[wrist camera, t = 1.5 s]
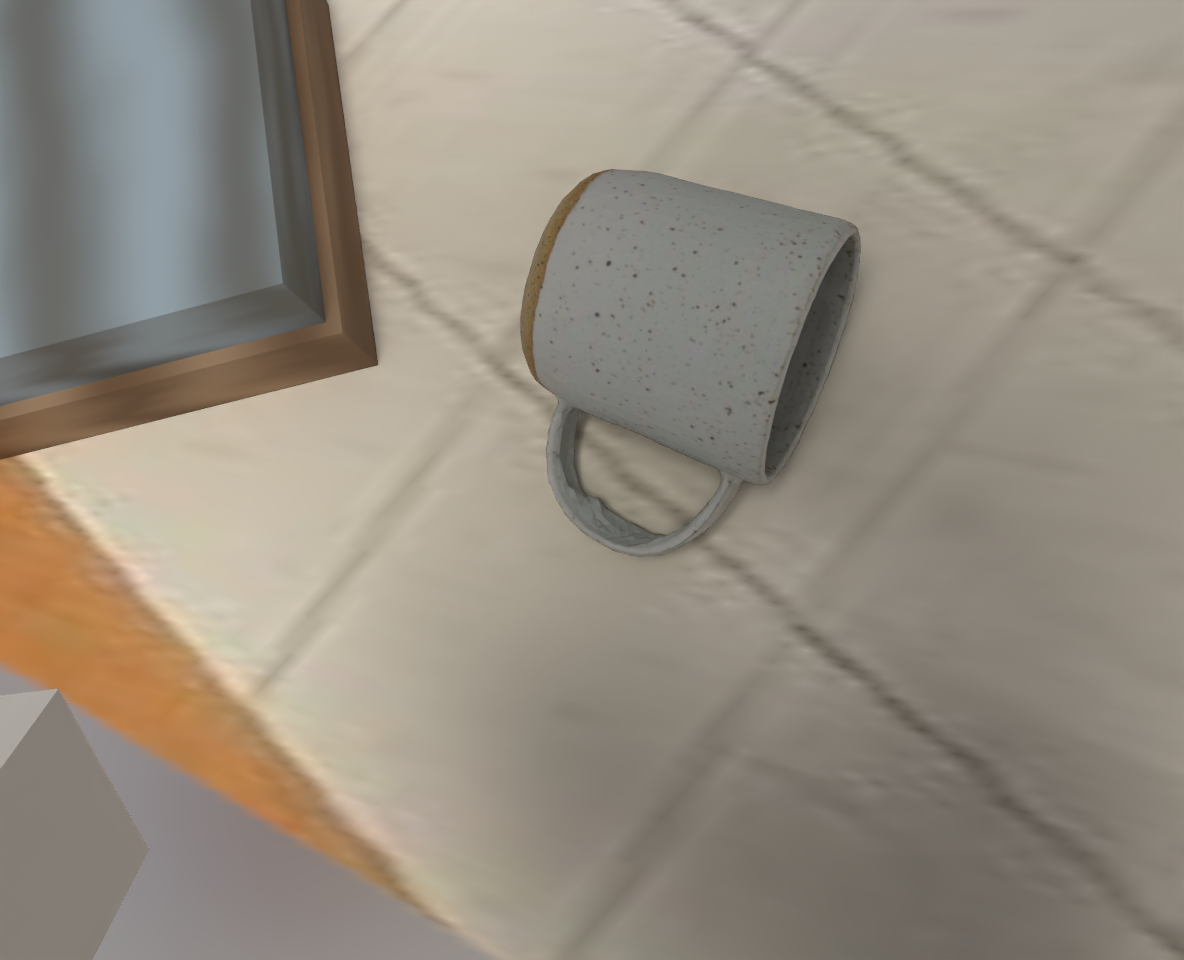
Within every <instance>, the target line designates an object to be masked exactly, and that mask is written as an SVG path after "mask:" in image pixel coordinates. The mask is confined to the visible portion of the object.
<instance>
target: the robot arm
mask: <svg viewBox="0 0 1184 960" xmlns="http://www.w3.org/2000/svg"><path fill="white" fill-rule="evenodd" d="M148 851H149V848H148V846H147V844H146V842H145V841H144V839H143V837H142V835H141V834H140V832H139V830H138V828H137V826H136V825H135V823H134V821H133V820H132V818H131V816H130V814H129V812H128V811H127V809H126V807H125V806H124V804H123V802H122V800H121V798H120V797H119V795H118V793H117V791H116V790H115V788H114V786H113V784H112V782H111V781H110V779H109V777H108V775H107V774H106V772H105V770H104V768H103V767H102V765H101V763H100V762H99V760H98V758H97V756H96V755H95V753H94V751H93V749H92V747H91V746H90V744H89V742H88V740H87V739H86V737H85V735H84V733H83V732H82V730H81V728H80V726H79V724H78V723H77V721H76V719H75V718H74V716H73V714H72V712H71V710H70V709H69V707H68V705H67V703H66V702H65V700H64V698H63V696H62V695H61V693H60V691H59V689H53V690H44V691H36V692H28V693H19V694H11V695H2V696H0V960H92V959H93V957H94V956H95V953H96V952H97V950H98V948H99V946H100V944H101V942H102V940H103V938H104V936H105V934H106V932H107V930H108V928H109V926H110V924H111V922H112V921H113V919H114V917H115V915H116V913H117V911H118V909H119V907H120V905H121V903H122V901H123V899H124V897H125V895H126V894H127V891H128V890H129V888H130V886H131V884H132V882H133V880H134V878H135V876H136V874H137V872H138V870H139V868H140V866H141V864H142V863H143V860H144V859H145V856H146V855H147V853H148Z"/></svg>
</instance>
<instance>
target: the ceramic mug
mask: <svg viewBox="0 0 1184 960" xmlns="http://www.w3.org/2000/svg"><path fill="white" fill-rule="evenodd" d="M860 252H861V246H860V236H859V232H858V228H857V227H856V226H855V225H854V224H852V223H850V222H847V221H845V220H842V219H840V218H835V217H831V216H826V215H822V214H818V213H814V212H809V211H804V210H800V209H795V208H792V207H789V206H785V205H781V204H778V203H773V202H768V201H765V200H761V199H757V198H752V197H748V196H745V195H741V194H737V193H733V192H728V191H724V190H720V189H716V188H711V187H707V186H704V185H700V184H696V183H692V182H688V181H685V180H681V179H677V178H674V177H670V176H666V175H662V174H658V173H652V172H647V171H632V170H616V169H611V170H605V171H601V172H598V173H594V174H592V175H591V176H589V177H587V178H586V179H584V180H583V181H581V182H580V183H579V184H578V185H577V186H576V187H575V188H574V189H573V190H572V191H571V192H570V193H569V194H568V195H567V196H566V197H565V198H564V199H563V200H562V201H561V203H560V204H559V206H558V207H557V209H556V211H555V212H554V214H553V215H552V217H551V218H550V220H549V222H548V224H547V226H546V228H545V230H544V232H543V235H542V237H541V239H540V242H539V244H538V247H537V249H536V251H535V254H534V258H533V261H532V265H531V268H530V272H529V275H528V278H527V282H526V285H525V290H524V296H523V302H522V310H521V318H520V324H521V341H522V350H523V353H524V355H525V358H526V361H527V364H528V366H529V369H530V371H531V374H532V375H533V377H534V378H535V380H536V381H537V382H538V383H539V384H541V385H542V386H543V387H544V388H546V389H547V390H549V391H550V392H552V393H553V394H555V395H556V396H557V398H558V406H557V408H556V410H555V412H554V414H553V418H552V423H551V425H550V428H549V432H548V442H547V448H546V455H547V473H548V478H549V482H550V485H551V487H552V490H553V492H554V495H555V497H556V499H557V501H558V503H559V504H560V506H561V508H562V509H563V511H564V513H565V515H566V516H567V517H568V518H569V519H570V520H571V521H572V522H573V523H574V524H575V525H576V526H577V527H578V528H579V529H580V530H581V531H582V532H583V533H584V534H586V535H587V536H589V537H590V538H592V539H593V540H595V541H597V542H599V543H601V544H603V545H604V546H606V547H608V548H610V549H612V550H614V551H617V552H621V553H625V554H628V555H632V556H637V557H642V556H650V555H661V554H664V553H666V552H669V551H671V550H674V549H677V548H679V547H681V546H683V545H685V544H687V543H688V542H690V541H691V540H693V539H695V538H696V537H697V536H699V535H700V534H702V533H703V532H704V531H705V530H707V529H708V528H709V527H710V526H711V525H713V524H714V522H715V521H716V520H717V519H718V518H719V517H720V515H721V514H722V513H723V512H724V511H725V509H726V508H727V506H728V505H729V503H730V502H731V501H732V499H733V498H734V496H735V495H736V494H737V492H738V490H739V488H740V486H741V484H742V482H743V480H744V481H747V482H750V483H752V484H755V485H766V484H768V483H770V482H771V481H772V480H773V479H774V478H775V477H776V476H777V474H778V473H779V472H780V470H781V469H782V468H783V467H784V465H785V463H786V461H787V460H788V459H789V457H790V456H791V454H792V452H793V450H794V449H795V447H796V445H797V444H798V442H799V439H800V437H801V434H802V432H803V429H804V427H805V425H806V423H807V421H808V419H809V418H810V416H811V414H812V412H813V410H814V408H815V405H816V403H817V400H818V398H819V395H820V393H821V390H822V388H823V385H824V382H825V380H826V378H827V376H828V374H829V371H830V367H831V364H832V362H833V360H834V357H835V354H836V350H837V347H838V344H839V341H840V338H841V335H842V333H843V330H844V327H845V323H846V320H847V316H848V312H849V309H850V306H851V303H852V300H853V296H854V288H855V283H856V280H857V277H858V266H859V263H860ZM581 410H582V411H584V412H586V413H588V414H591V415H593V416H596V417H598V418H600V419H603V420H606V421H608V422H611V423H614V424H617V425H620V426H622V427H624V428H627V429H629V430H631V431H634V432H636V433H638V434H641V435H643V436H645V437H647V438H649V439H652V440H654V441H656V442H658V443H660V444H662V445H664V446H667V447H669V448H671V449H674V450H676V451H678V452H681V453H683V454H684V455H686V456H688V457H691V458H694V459H696V460H698V461H700V462H702V463H704V464H707V465H710V466H713V467H715V468H717V469H718V470H720V474H721V478H722V479H721V482H720V486H719V488H718V490H717V492H716V493H715V495H714V497H713V498H712V499H711V500H710V501H709V502H708V503H707V505H706V506H705V507H704V508H703V509H702V511H701V512H700V513H699V514H698V515H697V516H696V517H695V518H694V519H693V520H692V521H691V522H690V523H689V524H688V525H686V526H685V527H684V528H682V529H681V530H678V531H676V532H673V533H671V534H669V535H667V536H665V535H661V534H651V533H648V532H647V531H645V530H643V529H641V528H639V527H638V526H636V525H634V524H632V523H630V522H628V521H626V520H624V519H622V518H620V517H618V516H617V515H615V514H614V513H612V512H611V511H610V510H608V509H607V508H605V507H604V505H603V504H602V502H601V501H600V499H598V498H595V497H592V496H587V497H586V496H585V494H584V492H583V491H582V489H581V487H580V485H579V481H578V478H577V475H576V472H575V468H574V461H573V456H574V445H573V444H574V438H575V433H576V426H577V421H578V418H579V415H580V411H581Z"/></svg>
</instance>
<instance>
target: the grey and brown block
mask: <svg viewBox="0 0 1184 960" xmlns="http://www.w3.org/2000/svg"><path fill="white" fill-rule="evenodd" d="M375 365H378V363H377V356H376V349H375V341H374V334H373V327H372V320H371V312H370V305H369V298H368V291H367V283H366V276H365V269H364V262H363V254H362V247H361V240H360V233H359V225H358V218H357V211H356V204H355V197H354V189H353V182H352V175H351V168H350V160H349V153H348V146H347V139H346V131H345V124H344V117H343V110H342V102H341V95H340V88H339V81H338V73H337V66H336V59H335V52H334V44H333V37H332V30H331V23H330V15H329V8H328V3H327V2H326V0H0V459H4V458H8V457H12V456H15V455H19V454H23V453H27V452H31V451H35V450H39V449H43V448H47V447H51V446H55V445H59V444H63V443H67V442H71V441H75V440H79V439H83V438H87V437H91V436H95V435H99V434H103V433H107V432H111V431H115V430H119V429H123V428H127V427H131V426H135V425H139V424H143V423H147V422H151V421H155V420H159V419H163V418H167V417H171V416H175V415H179V414H183V413H187V412H191V411H195V410H199V409H203V408H207V407H211V406H215V405H219V404H223V403H227V402H231V401H235V400H239V399H243V398H247V397H251V396H255V395H259V394H263V393H267V392H271V391H275V390H279V389H283V388H287V387H291V386H295V385H299V384H303V383H307V382H311V381H315V380H319V379H323V378H327V377H331V376H335V375H339V374H343V373H347V372H351V371H355V370H359V369H363V368H367V367H371V366H375Z"/></svg>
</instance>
